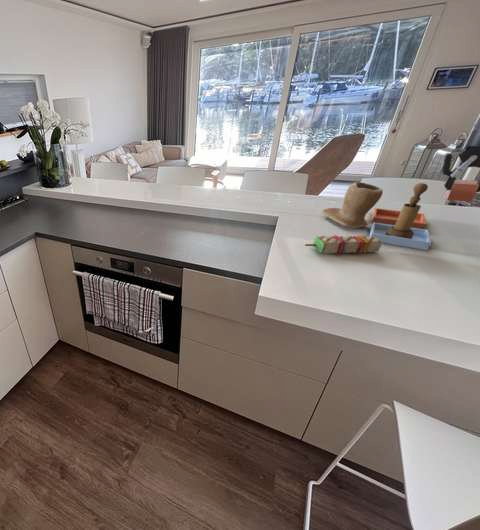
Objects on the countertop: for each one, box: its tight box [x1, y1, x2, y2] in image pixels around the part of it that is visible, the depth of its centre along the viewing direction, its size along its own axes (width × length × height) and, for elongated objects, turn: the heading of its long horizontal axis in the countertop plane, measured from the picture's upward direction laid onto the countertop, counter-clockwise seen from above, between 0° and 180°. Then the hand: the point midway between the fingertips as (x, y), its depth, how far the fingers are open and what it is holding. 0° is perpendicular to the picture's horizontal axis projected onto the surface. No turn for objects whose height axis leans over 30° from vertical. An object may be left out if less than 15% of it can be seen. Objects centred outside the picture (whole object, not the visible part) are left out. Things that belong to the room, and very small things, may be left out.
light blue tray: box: [369, 222, 432, 251], centre depth 96 cm, size 14×11×3 cm
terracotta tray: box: [371, 207, 427, 230], centre depth 107 cm, size 14×11×3 cm
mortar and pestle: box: [385, 182, 429, 239], centre depth 91 cm, size 7×6×18 cm
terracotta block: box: [444, 179, 480, 203], centre depth 85 cm, size 5×5×5 cm
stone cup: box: [321, 181, 384, 229], centre depth 107 cm, size 15×12×15 cm
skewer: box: [304, 234, 383, 254], centre depth 91 cm, size 21×6×5 cm, turn 84°
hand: (461, 190), depth 85 cm, fingers closed on terracotta block, 5 cm apart
